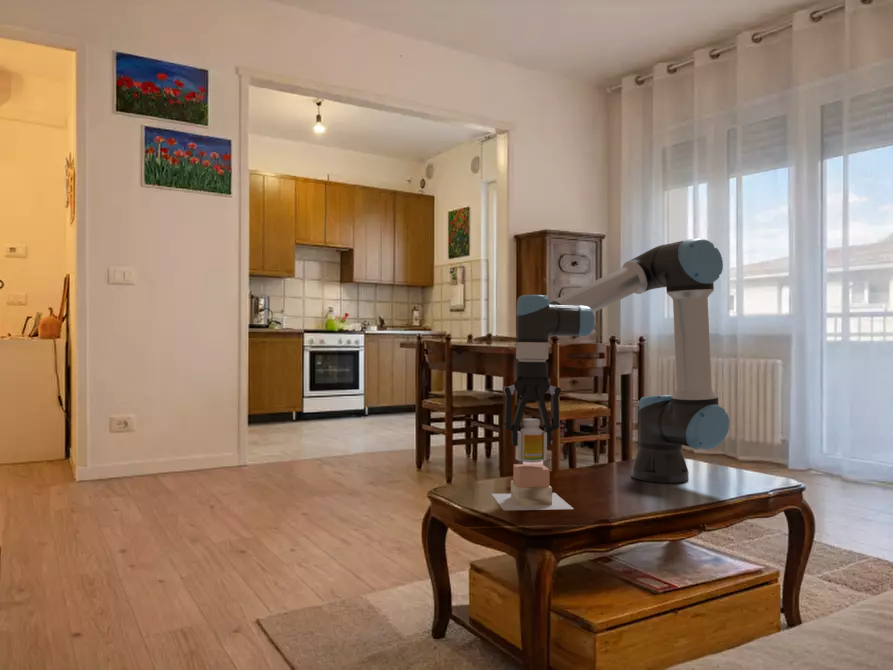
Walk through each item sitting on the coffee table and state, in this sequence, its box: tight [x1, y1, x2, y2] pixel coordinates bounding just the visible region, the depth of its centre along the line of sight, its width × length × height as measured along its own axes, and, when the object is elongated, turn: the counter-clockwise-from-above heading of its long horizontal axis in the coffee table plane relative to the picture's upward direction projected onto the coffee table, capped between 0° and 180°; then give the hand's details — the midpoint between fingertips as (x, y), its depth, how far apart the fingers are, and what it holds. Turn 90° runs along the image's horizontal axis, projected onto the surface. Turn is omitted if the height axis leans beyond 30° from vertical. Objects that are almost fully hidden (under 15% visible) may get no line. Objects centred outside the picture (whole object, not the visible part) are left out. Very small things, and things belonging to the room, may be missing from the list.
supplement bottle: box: [520, 418, 544, 463], centre depth 157 cm, size 5×5×10 cm
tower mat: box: [491, 492, 575, 511], centre depth 157 cm, size 16×16×1 cm
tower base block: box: [510, 480, 553, 506], centre depth 157 cm, size 8×8×4 cm
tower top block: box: [512, 463, 551, 487], centre depth 157 cm, size 7×7×4 cm
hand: (531, 459), depth 157 cm, fingers closed on supplement bottle, 5 cm apart
